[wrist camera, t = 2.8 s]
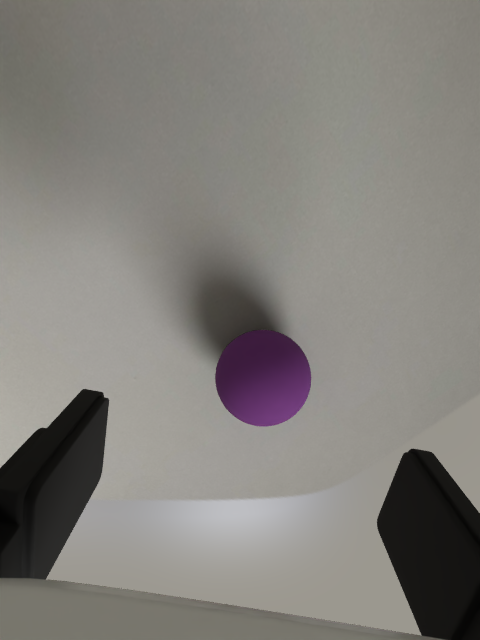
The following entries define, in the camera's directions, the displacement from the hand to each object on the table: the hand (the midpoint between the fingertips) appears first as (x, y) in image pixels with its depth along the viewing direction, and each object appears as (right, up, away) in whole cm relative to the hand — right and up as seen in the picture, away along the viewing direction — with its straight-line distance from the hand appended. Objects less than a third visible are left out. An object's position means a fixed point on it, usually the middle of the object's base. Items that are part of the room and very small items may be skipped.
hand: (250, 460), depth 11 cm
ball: (+1, +2, +8) cm, 8 cm away
